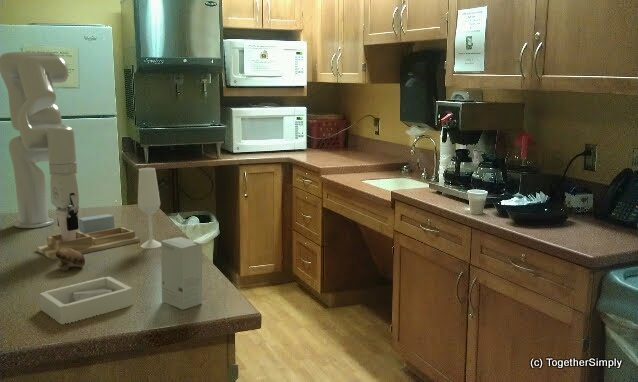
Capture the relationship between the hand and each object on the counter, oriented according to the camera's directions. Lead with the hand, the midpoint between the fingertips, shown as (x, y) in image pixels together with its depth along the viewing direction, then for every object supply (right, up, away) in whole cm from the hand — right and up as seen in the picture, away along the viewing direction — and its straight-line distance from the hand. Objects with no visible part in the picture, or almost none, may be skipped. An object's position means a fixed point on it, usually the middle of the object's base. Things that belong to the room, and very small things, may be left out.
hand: (68, 227), depth 184 cm
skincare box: (+44, -15, -42) cm, 63 cm away
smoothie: (0, -4, +1) cm, 4 cm away
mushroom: (+7, -11, -16) cm, 21 cm away
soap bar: (+23, -16, -42) cm, 51 cm away
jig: (+4, -6, +5) cm, 9 cm away
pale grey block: (+2, -4, +19) cm, 20 cm away
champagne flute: (+23, -6, +6) cm, 25 cm away
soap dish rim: (+23, -16, -44) cm, 52 cm away
